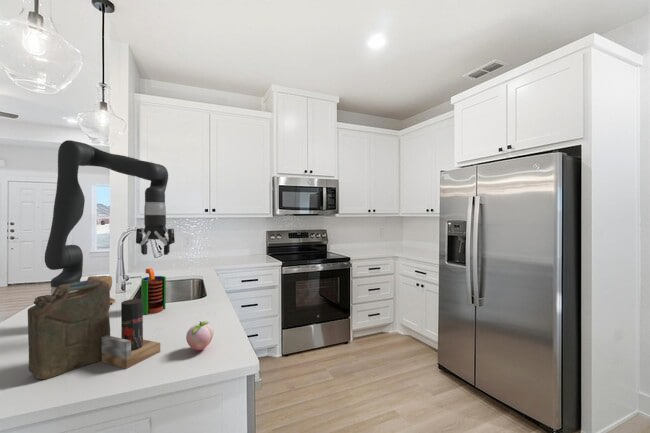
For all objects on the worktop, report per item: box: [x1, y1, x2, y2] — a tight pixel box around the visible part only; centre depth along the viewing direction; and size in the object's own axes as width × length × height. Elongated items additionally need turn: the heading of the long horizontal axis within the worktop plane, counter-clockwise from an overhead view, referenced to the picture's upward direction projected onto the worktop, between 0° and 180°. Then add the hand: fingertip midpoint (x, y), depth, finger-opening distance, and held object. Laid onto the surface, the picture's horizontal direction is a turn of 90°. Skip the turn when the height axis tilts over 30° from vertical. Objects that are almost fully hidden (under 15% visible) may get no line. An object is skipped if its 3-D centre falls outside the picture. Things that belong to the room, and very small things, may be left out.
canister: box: [27, 279, 111, 380], centre depth 95 cm, size 19×8×25 cm, turn 147°
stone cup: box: [86, 275, 116, 304], centre depth 154 cm, size 15×12×15 cm
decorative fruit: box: [185, 320, 214, 351], centre depth 106 cm, size 9×8×10 cm
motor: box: [140, 267, 167, 316], centre depth 146 cm, size 10×9×20 cm
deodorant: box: [120, 298, 144, 351], centre depth 101 cm, size 6×6×15 cm
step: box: [101, 335, 161, 369], centre depth 101 cm, size 11×12×8 cm
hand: (155, 254), depth 123 cm, fingers open, 8 cm apart
